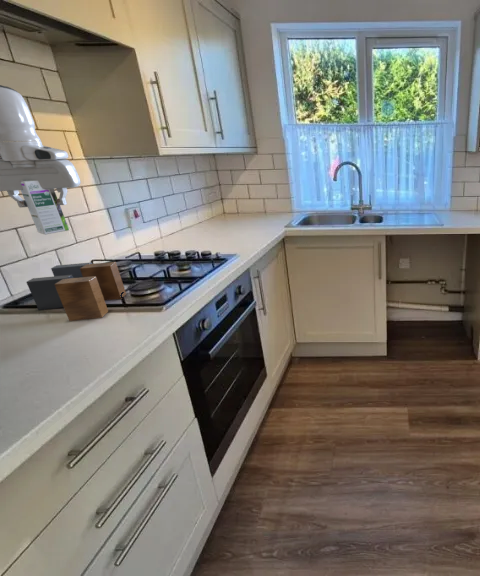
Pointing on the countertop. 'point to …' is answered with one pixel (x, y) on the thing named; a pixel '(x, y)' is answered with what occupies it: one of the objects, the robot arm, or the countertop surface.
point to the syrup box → (43, 208)
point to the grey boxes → (52, 285)
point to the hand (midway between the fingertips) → (44, 205)
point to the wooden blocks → (90, 291)
